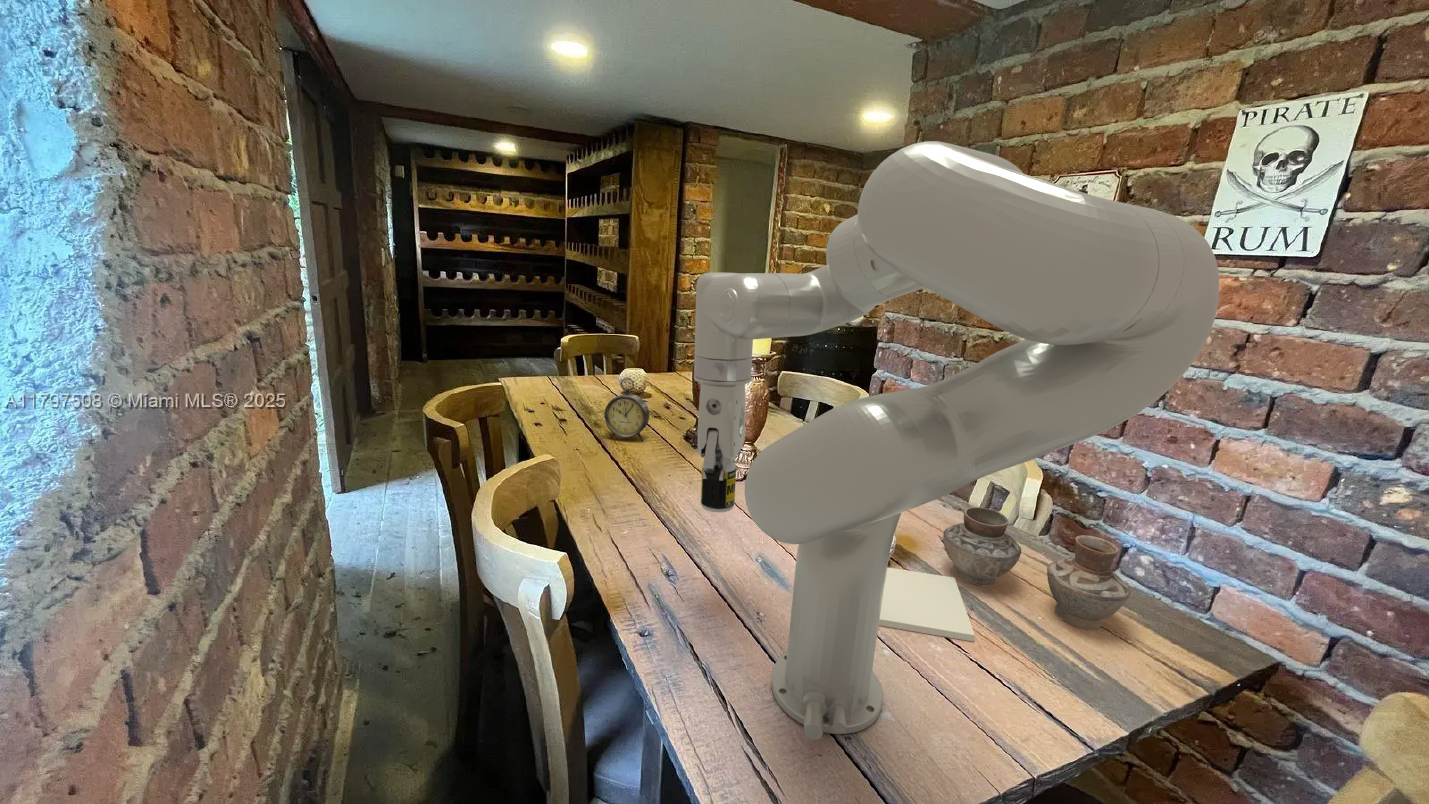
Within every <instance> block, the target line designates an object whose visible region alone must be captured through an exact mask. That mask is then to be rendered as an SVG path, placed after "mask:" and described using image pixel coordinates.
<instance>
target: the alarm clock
mask: <svg viewBox="0 0 1429 804" xmlns="http://www.w3.org/2000/svg"><path fill="white" fill-rule="evenodd" d="M625 380H629V381H630V382H631V383H632V387H631V388H630V389H629V388H624V387H623V382H624V381H625ZM620 386H621V388H622V390H625V393H622V394H620V395H618V396H616V397H614V398H612V399H611V400H609V402H608V403H607V405H606V406H605V409H604V417H603V418H604V421H605V424H606V427H607V428H608V430H609V431H610V432H611V435H610V436H609V439H612V438H613V436H615V435H616V436H618V437H620V438H624V439H625V438H626V439H628V438H633V437H636V436H638V438H639V439H640V440H641V442H644V438H643V436H642V435H641V432H642V431H643V430H644V429H645V428H646V427H647V425H648V424H649V421H650V411H649V408H648V405H647V403H646V402H645V400H644V399H643V398H641V397H639V395H636V394H633V393H630V391H631V390H633V389H634V386H635V384H634V380H632V379H631V378H628V377H625V378H623V379H621V382H620Z"/></svg>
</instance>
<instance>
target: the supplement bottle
mask: <svg viewBox="0 0 1429 804" xmlns="http://www.w3.org/2000/svg"><path fill="white" fill-rule="evenodd" d="M716 456H722V452H717V453H716ZM733 460H734V461H733ZM733 460H732V461H730V460H729V458H726V467H725V478H724V479H727V488H726V505H725V507H724V508H719V507H711V506H704V505H702V483H701V489H700V491H701V492H700V505H701V508H703V509H704V510H705V511H707V512H711V513H726V512H729V511H731V510H733V508H734V507H735V497H736V479H737V477H736V476H737V464H736V463H735V459H733ZM703 463H704V461H702V465H701V480H702V479H703ZM720 463H721V461H716V465H719V467H720Z"/></svg>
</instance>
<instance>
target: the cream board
mask: <svg viewBox="0 0 1429 804" xmlns="http://www.w3.org/2000/svg"><path fill="white" fill-rule="evenodd" d="M959 589H960V588H959V587H958V584H957V581H956V577H953V576H945V575H938V574H933V573H926V572H920V571H914V570H913V571H912V570H907V569H906V570H905V569H900V568H893V567H889V566H887V573H886V580H885V584H884V591H883V598H882V605H881V612H880V619H879V626H881V627H886V628H892V629H898V630H904V631H908V632H909V631H911V632H913V633H914V632H915V633H921V634H926V635H932V636H939V637H944V638H950V639H956V640H962V641H967V642H973V643H974V642H975V641H974V640H975V637H976V636H975V632H974V629H973V627H972V623H971V621H970V618H969V615H968V612H967V609H966V606H965V604H964V601H963V598H962V595H961V592H960V590H959ZM879 626H878V627H879Z"/></svg>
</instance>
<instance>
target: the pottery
mask: <svg viewBox="0 0 1429 804" xmlns="http://www.w3.org/2000/svg"><path fill="white" fill-rule="evenodd" d="M1008 523H1009V519H1008V518H1007V517H1006V515H1004V514H1003V513H1001V512H999V511H996V510H994V509H991V508H987V507H982V506H971V507H968V508H966V509H965V510H964V513H963V522H961V523H956V524H953V525H951V526H948V527H946V528H945V529H944V530H943V535H942V538H943V539H942V541H943V548H944V550H945V552H946V555H947V556H948V558H949V559H950V561H951V562H952V564H953V565H954V566H955V569H954V571H955V574H956V575H957V576H958V577H959V578H960V579H962V580H963V581H965V582H967V583H969V584H972V585H976V586H981V585H988V586H992V585H993V584H994V583H995V581H996V579H998V578H999V577H1002V576H1004V575H1005V574H1007V573H1008V572H1010V571H1011V570H1012V569H1013V568H1014V567H1015V565H1016V564H1017V563H1018V562H1019V559H1020V557H1021V554H1022V547H1021V546H1020V544H1019V543H1018V542H1017V541H1016V540H1015V539H1014V538H1013V537H1012V536H1011V535H1010V534H1008V533H1007V532H1006V530H1007V528H1008ZM1074 553H1075V555H1074V557H1070V558H1063V559H1062V558H1061V559H1059V560H1055V561H1052V562H1051V563H1049V564H1048V566H1047V567H1046V570H1047V571H1046V572H1047V573H1046V574H1047V582H1048V587H1049V590H1050V593H1051V595H1052V598H1053V599H1054V600H1055V602H1056V605H1055V607H1054V611H1055V613H1056V615H1057V617H1059V618H1060V619H1062V620H1063V621H1064V622H1066V624H1069V625H1071V626H1073V627H1076V628H1079V629H1083V630H1084V629H1085V630H1089V631H1091V630H1093V631H1094V630H1099V629H1100V628H1101V627H1102V624H1103V622H1102V620H1104V619H1106V618H1109V617H1112V616H1114V615H1115V614H1116V613H1117V612H1118V611H1119V610H1120V609H1121V608H1122V607H1123V606H1124V605H1125V603H1126V602H1127V600H1129V598H1130V596H1131V591H1130V588H1129V586H1128V585H1127V584H1126V582H1125V581H1123V579H1122V578H1121V577H1120V576H1119V575H1117V574H1116V573H1115V572H1114V571H1113V570H1111V569H1110V568H1111V566H1112V564H1113V561H1114V559H1115V558H1116V556H1118V555H1117V554H1118V553H1119V548H1118V546H1117V545H1115V544H1114V543H1112V542H1110V541H1109V540H1106V539H1104V538H1101V537H1099V536H1098V537H1097V536H1092V535H1085V534H1083V535H1082V534H1081V535H1077V536H1076V537H1075V552H1074Z"/></svg>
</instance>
